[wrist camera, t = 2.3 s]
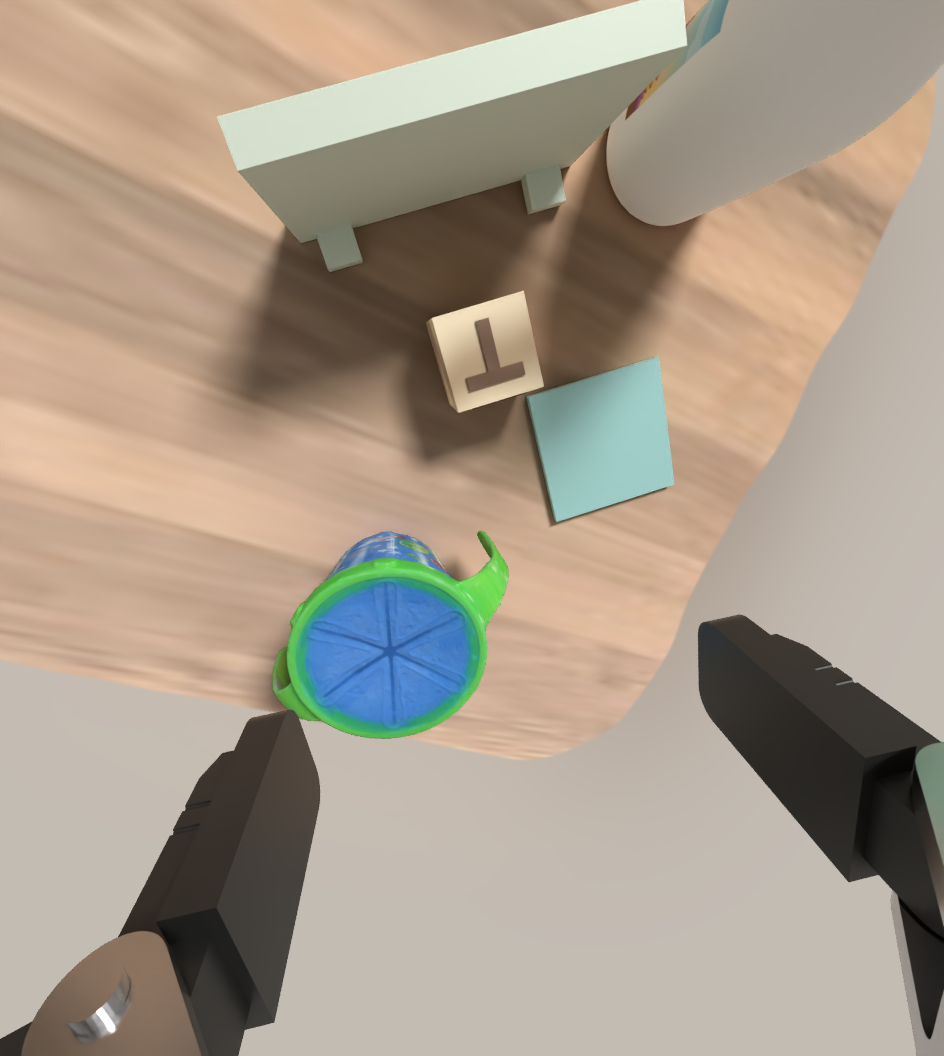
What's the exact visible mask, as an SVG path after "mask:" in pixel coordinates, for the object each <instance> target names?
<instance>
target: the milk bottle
mask: <svg viewBox="0 0 944 1056" xmlns="http://www.w3.org/2000/svg"><path fill="white" fill-rule="evenodd" d="M686 37H687V46H686V47H685V48H684V49H683V50H682V51H681V52H680V53H679V54H678V55H677V56H676V57H675V58H674V59H673V60H672V61H671V63H670V64H669V65H668V66H667V67H666V68H665V69H664V70H663V71H662V72H661V73H660V74H659V75H658V76H657V77H656V78H655V79H654V80H653V81H652V82H651V83H650V84H649V85H648V86H647V87H646V88H645V89H644V90H643V92H642V93H641V94H640V95H639V96H638V97H637V98H636V99H635V100H634V101H633V102H632V103H631V104H630V105H629V106H628V107H627V108H626V109H625V110H624V111H623V112H622V113H621V114H620V115H619V116H618V117H617V118H616V119H615V120H614V122H613V123H612V124H611V125H610V129H609V134H608V139H607V169H608V174H609V180H610V182H611V185H612V188H613V190H614V193H615V195H616V196H617V198H618V199H619V201H620V203H621V204H622V205H623V206H624V207H625V208H626V210H627V211H628V212H629V213H630V214H632V215H633V216H634V217H636V218H637V219H639V220H641V221H643V222H645V223H648V224H651V225H656V226H670V225H676V224H679V223H682V222H685V221H687V220H690V219H692V218H695V217H697V216H700V215H702V214H704V213H706V212H709V211H711V210H713V209H716V208H718V207H720V206H723V205H725V204H727V203H729V202H732V201H734V200H736V199H739V198H741V197H743V196H745V195H748V194H750V193H752V192H754V191H757V190H759V189H761V188H763V187H766V186H768V185H770V184H772V183H774V182H777V181H779V180H781V179H783V178H785V177H788V176H790V175H792V174H794V173H796V172H799V171H801V170H803V169H805V168H807V167H809V166H811V165H813V164H815V163H817V162H819V161H821V160H823V159H825V158H827V157H829V156H831V155H833V154H835V153H837V152H839V151H841V150H842V149H844V148H846V147H847V146H849V145H851V144H852V143H854V142H855V141H857V140H859V139H860V138H862V137H863V136H865V135H866V134H868V133H869V132H871V131H872V130H874V129H875V128H876V127H878V126H879V125H880V124H881V123H883V122H884V121H885V120H887V119H888V118H889V117H890V116H892V115H893V114H894V113H895V112H896V111H897V110H899V109H900V108H901V107H902V106H903V105H904V104H905V103H906V102H907V101H909V100H910V99H911V98H912V97H913V96H914V95H915V94H916V93H917V92H918V91H919V90H920V89H921V87H922V86H923V85H924V84H925V83H926V82H927V81H928V80H929V79H930V78H931V77H932V76H933V75H934V74H935V72H936V71H937V70H938V69H939V68H940V67H941V66H942V65H943V64H944V0H709V1H708V2H707V3H706V4H705V5H704V6H703V7H702V8H701V9H700V10H699V11H698V12H697V14H696V15H695V16H694V17H693V18H692V19H691V20H690V21H689V22H688V23H687V24H686Z"/></svg>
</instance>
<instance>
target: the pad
mask: <svg viewBox="0 0 944 1056" xmlns="http://www.w3.org/2000/svg"><path fill="white" fill-rule="evenodd" d="M526 398H527V403H528V407H529V412H530V416H531V420H532V425H533V429H534V434H535V438H536V442H537V447H538V451H539V455H540V460H541V464H542V469H543V473H544V477H545V482H546V486H547V490H548V495H549V499H550V504H551V508H552V512H553V517H554V520H555V521H556V522H558V521H561V520H565V519H568V518H571V517H574V516H577V515H580V514H583V513H586V512H590V511H593V510H596V509H599V508H602V507H605V506H608V505H612V504H615V503H618V502H621V501H624V500H627V499H630V498H633V497H637V496H640V495H643V494H646V493H649V492H652V491H655V490H658V489H662V488H665V487H668V486H671V485H674V476H673V468H672V460H671V452H670V444H669V436H668V428H667V420H666V412H665V403H664V395H663V387H662V379H661V371H660V363H659V357H653V358H650V359H646V360H643V361H640V362H637V363H633V364H630V365H627V366H624V367H620V368H617V369H614V370H611V371H607V372H604V373H601V374H598V375H594V376H591V377H588V378H585V379H581V380H578V381H575V382H572V383H568V384H565V385H562V386H559V387H555V388H552V389H549V390H546V391H542V392H539V393H536V394H533V395H529V396H526Z"/></svg>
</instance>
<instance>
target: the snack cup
mask: <svg viewBox="0 0 944 1056" xmlns="http://www.w3.org/2000/svg"><path fill="white" fill-rule="evenodd" d="M477 536H478V538H479V540H480V542H481V544H482V545H483V547H484V549H485V550H486V552H487V554H488V555H489V557H490V558H491V559H490V561H489V562H488V563H487V564H486V565H485V566H484V567H483V569H482V570H481V571H480V572H479V573H478V574H476V575H474V576H472V577H471V578H468V579H464V580H462V581H457V580H455V579H453V578H452V577H451V576H450V575H449V574H448V572H447V571H446V569H445V568H444V566H443V564H442V563H441V562H440V560H439V559H438V557H437V556H436V554H435V553H434V552H433V551H432V550H431V549H430V548H429V547H428V546H427V545H425V544H423V543H422V542H420V541H418V540H417V539H415V538H413V537H410V536H408V535H402V534H396V533H393V532H381V533H379V534H377V535H374V536H371V537H368V538H365V539H363V540H361V541H360V542H358V543H357V544H355V545H354V546H353V547H351V548H350V549H349V550H348V551H346V553H345V554H344V555H343V556H342V558H341V559H340V561H339V563H338V564H337V565H336V566H335V568H334V569H333V571H332V572H331V573H330V575H329V576H328V578H327V579H326V581H325V582H323V583H322V584H321V585H320V586H318V587H317V588H316V589H315V590H314V592H313V593H312V594H311V595H310V596H309V597H308V599H307V600H306V601H304V602H303V603H302V604H301V605H300V606H299V607H298V608H297V610H296V612H295V614H294V616H293V618H292V620H291V622H290V624H291V627H292V630H291V633H290V637H289V641H288V647H284V648H283V649H281V650H280V651H279V653H278V654H277V657H276V659H275V665H274V669H273V677H272V689H273V693H274V694H275V696H276V697H277V698H278V699H279V700H280V702H281V703H282V704H283V705H284V706H285V707H286V708H287V709H288V710H294V711H295V712H296V714H297V716H298V717H299V718H300V719H305V720H308V721H323V722H325V723H326V724H328V725H330V726H332V727H334V728H336V729H338V730H340V731H343V732H345V733H348V734H352V735H355V736H361V737H366V738H381V739H386V738H388V739H390V738H399V737H404V736H409V735H414V734H417V733H420V732H423V731H425V730H428V729H430V728H432V727H434V726H436V725H438V724H440V723H441V722H443V721H445V720H446V719H448V718H449V717H450V716H452V715H453V714H455V713H456V712H457V711H458V710H459V709H460V708H461V707H462V706H463V705H464V704H465V703H466V702H467V701H468V699H469V698H470V697H471V695H472V694H473V693H474V691H475V690H476V689H477V687H478V685H479V682H480V680H481V677H482V675H483V672H484V668H485V664H486V658H487V641H486V633H485V631H486V626H487V624H488V623H489V620H490V619H491V617H492V616H493V614H494V613H495V611H496V609H497V608H498V606H500V605H501V600H502V597H503V596H504V593H505V591H506V588H507V582H508V577H509V575H508V573H509V572H508V566H507V564H506V562H505V560H504V559H503V558H502V557H501V555H500V553H499V551H498V550H497V548H496V546H495V545H494V543H493V542H492V540H491V539H490V537H489V536H488V535H487V534H486V533H485V532H483V531H478V534H477Z"/></svg>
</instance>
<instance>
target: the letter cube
mask: <svg viewBox="0 0 944 1056" xmlns="http://www.w3.org/2000/svg"><path fill="white" fill-rule="evenodd" d="M426 325H427V329H428V332H429V336H430V339H431V343H432V346H433V350H434V353H435V357H436V360H437V363H438V367H439V370H440V374H441V377H442V381H443V384H444V388H445V391H446V395H447V398H448V402H449V404H450V405H451V406H452V407H453V408H454V409H455V410H456V411H457V412H458V413H460V412H463V411H466V410H469V409H476V408H479V407H482V406H485V405H489V404H492V403H495V402H498V401H502V400H505V399H508V398H511V397H515V396H518V395H521V394H524V393H526V392H528V391H531V390H534V389H538V388H541V387H544V384H543V379H542V375H541V370H540V365H539V361H538V356H537V351H536V347H535V342H534V337H533V332H532V328H531V323H530V318H529V314H528V309H527V304H526V300H525V295H524V291H521V292H517V293H514V294H511V295H507V296H504V297H501V298H497V299H494V300H491V301H487V302H484V303H481V304H477V305H474V306H470V307H467V308H464V309H460V310H457V311H454V312H450V313H447V314H444V315H440V316H437V317H434V318H431V319H430V320H429V321H427V322H426Z"/></svg>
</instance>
